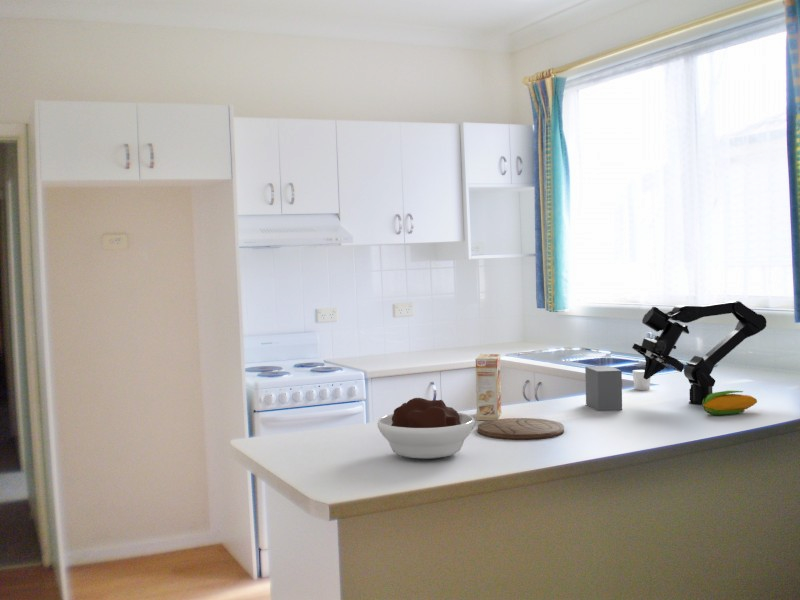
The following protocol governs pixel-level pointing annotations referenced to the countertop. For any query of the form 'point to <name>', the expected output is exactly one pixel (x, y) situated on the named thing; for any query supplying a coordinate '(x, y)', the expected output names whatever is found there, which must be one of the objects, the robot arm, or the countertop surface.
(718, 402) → the corn
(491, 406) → the coffeecake box
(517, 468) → the countertop surface
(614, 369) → the block
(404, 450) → the bowl of chocolate pudding
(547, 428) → the trivet
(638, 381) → the shot glass
